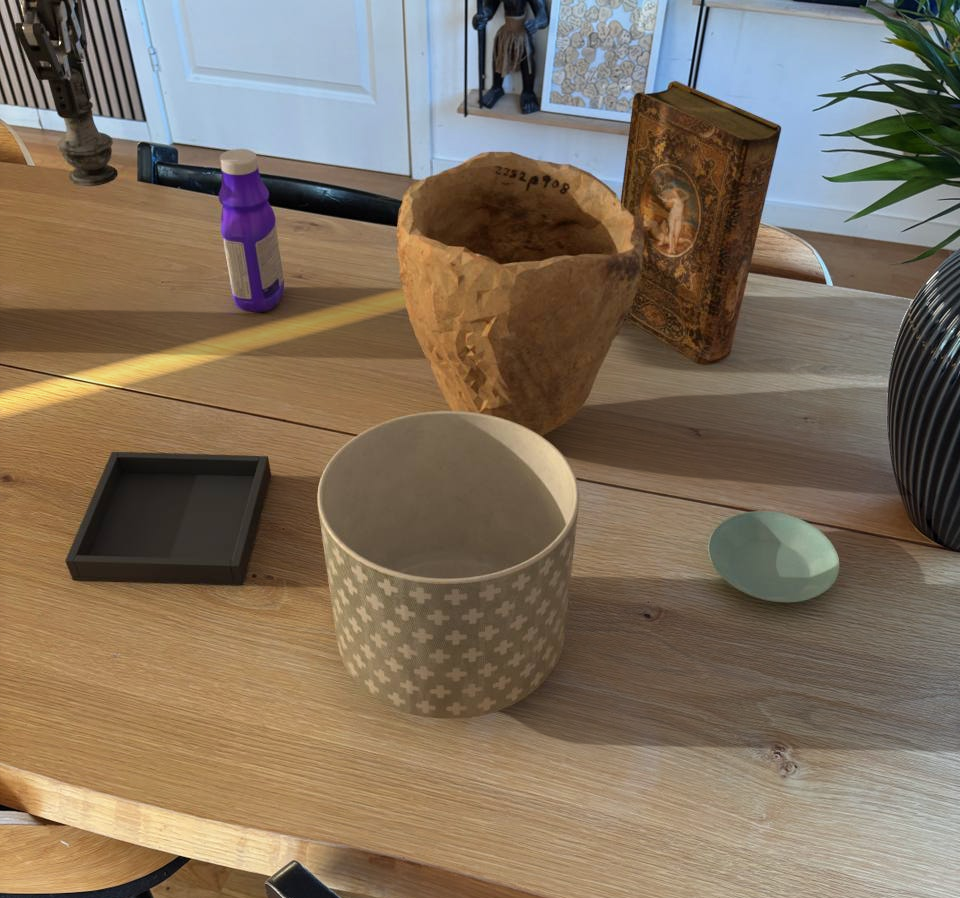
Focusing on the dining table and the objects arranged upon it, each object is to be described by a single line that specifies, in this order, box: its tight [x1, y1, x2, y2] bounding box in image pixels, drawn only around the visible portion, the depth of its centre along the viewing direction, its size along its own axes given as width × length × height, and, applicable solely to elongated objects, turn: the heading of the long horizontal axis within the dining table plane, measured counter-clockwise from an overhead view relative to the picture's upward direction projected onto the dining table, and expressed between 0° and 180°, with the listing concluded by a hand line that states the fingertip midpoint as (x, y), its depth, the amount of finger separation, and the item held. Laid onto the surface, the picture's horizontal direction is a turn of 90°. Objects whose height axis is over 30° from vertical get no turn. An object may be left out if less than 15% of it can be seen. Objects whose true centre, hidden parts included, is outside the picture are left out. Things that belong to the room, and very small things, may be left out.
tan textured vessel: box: [396, 151, 645, 437], centre depth 98 cm, size 22×22×25 cm
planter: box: [316, 410, 580, 720], centre depth 80 cm, size 19×19×18 cm
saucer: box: [707, 510, 840, 603], centre depth 93 cm, size 12×12×2 cm
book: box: [620, 80, 782, 365], centre depth 112 cm, size 16×6×25 cm, turn 38°
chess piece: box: [56, 67, 119, 187], centre depth 109 cm, size 6×6×12 cm
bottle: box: [218, 148, 285, 313], centre depth 118 cm, size 7×6×17 cm
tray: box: [64, 451, 272, 586], centre depth 96 cm, size 16×16×2 cm
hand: (75, 108), depth 108 cm, fingers closed on chess piece, 3 cm apart
